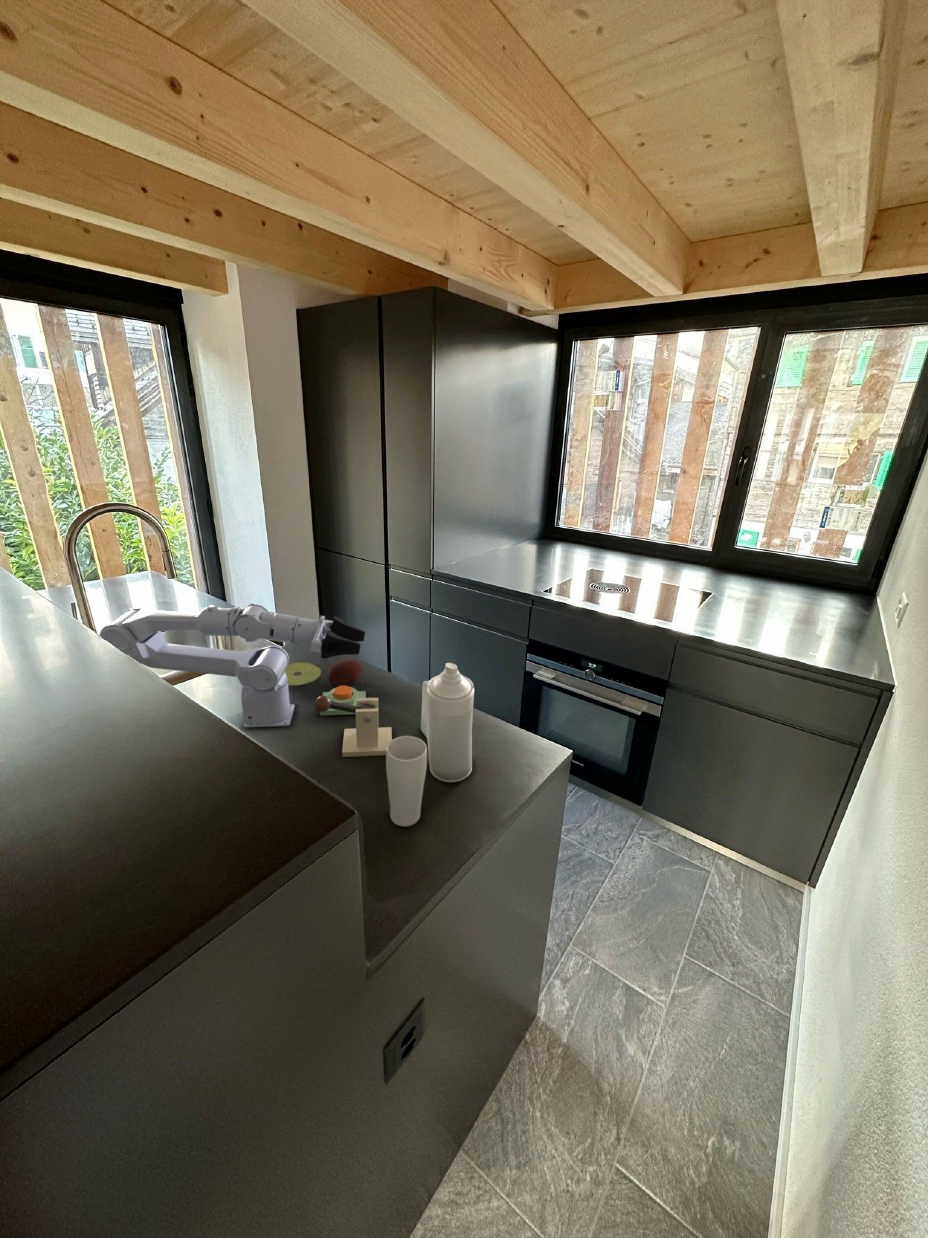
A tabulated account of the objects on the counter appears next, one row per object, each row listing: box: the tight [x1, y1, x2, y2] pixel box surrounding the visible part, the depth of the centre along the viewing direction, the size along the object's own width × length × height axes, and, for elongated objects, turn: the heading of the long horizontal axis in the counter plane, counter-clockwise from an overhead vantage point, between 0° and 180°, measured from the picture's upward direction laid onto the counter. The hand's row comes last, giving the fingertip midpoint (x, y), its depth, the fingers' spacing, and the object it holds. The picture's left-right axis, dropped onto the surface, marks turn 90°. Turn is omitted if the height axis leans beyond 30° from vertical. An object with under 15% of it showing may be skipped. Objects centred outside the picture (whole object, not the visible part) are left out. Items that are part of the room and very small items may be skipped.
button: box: [334, 686, 352, 700], centre depth 120 cm, size 4×4×2 cm
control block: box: [319, 686, 367, 716], centre depth 120 cm, size 10×8×3 cm
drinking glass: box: [385, 735, 428, 828], centre depth 88 cm, size 7×7×15 cm
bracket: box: [341, 697, 393, 758], centre depth 106 cm, size 10×8×10 cm
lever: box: [314, 694, 376, 713], centre depth 104 cm, size 12×3×3 cm, turn 100°
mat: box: [285, 662, 322, 686], centre depth 130 cm, size 11×11×2 cm
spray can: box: [426, 662, 475, 783], centre depth 97 cm, size 12×11×25 cm
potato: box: [326, 658, 363, 688], centre depth 129 cm, size 7×10×6 cm
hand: (362, 642), depth 108 cm, fingers open, 7 cm apart
